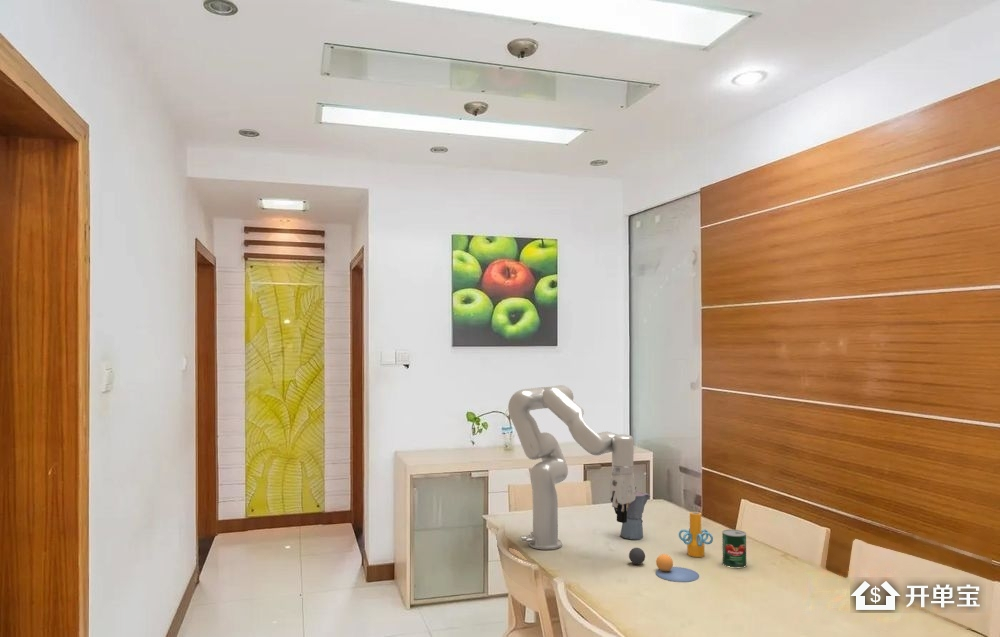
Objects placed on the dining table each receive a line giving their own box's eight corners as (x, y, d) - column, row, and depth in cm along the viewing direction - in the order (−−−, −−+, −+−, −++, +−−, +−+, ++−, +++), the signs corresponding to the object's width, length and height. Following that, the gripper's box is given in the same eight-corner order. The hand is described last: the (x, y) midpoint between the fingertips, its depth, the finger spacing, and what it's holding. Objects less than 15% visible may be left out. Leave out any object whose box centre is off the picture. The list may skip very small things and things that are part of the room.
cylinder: (675, 556, 243) (675, 514, 243) (682, 548, 252) (681, 508, 252) (710, 561, 237) (709, 518, 237) (715, 553, 246) (715, 511, 247)
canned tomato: (731, 569, 229) (730, 536, 229) (718, 562, 237) (717, 530, 237) (751, 567, 231) (751, 534, 231) (737, 559, 239) (737, 528, 239)
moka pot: (653, 540, 262) (652, 488, 263) (613, 540, 262) (612, 488, 263) (648, 533, 271) (647, 483, 272) (609, 533, 272) (609, 483, 272)
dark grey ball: (626, 550, 233) (630, 566, 232) (642, 547, 232) (646, 564, 231) (627, 548, 239) (631, 564, 237) (643, 545, 238) (647, 561, 236)
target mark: (669, 584, 215) (669, 583, 215) (648, 569, 229) (648, 569, 229) (707, 579, 219) (707, 578, 219) (684, 565, 233) (684, 565, 233)
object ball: (651, 563, 227) (664, 572, 223) (659, 549, 228) (673, 558, 224) (656, 567, 231) (669, 576, 227) (664, 553, 232) (677, 562, 228)
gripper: (619, 474, 232) (618, 528, 231) (642, 468, 242) (642, 520, 242) (601, 471, 237) (600, 523, 237) (625, 465, 248) (624, 515, 247)
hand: (621, 521), depth 239 cm, fingers closed
